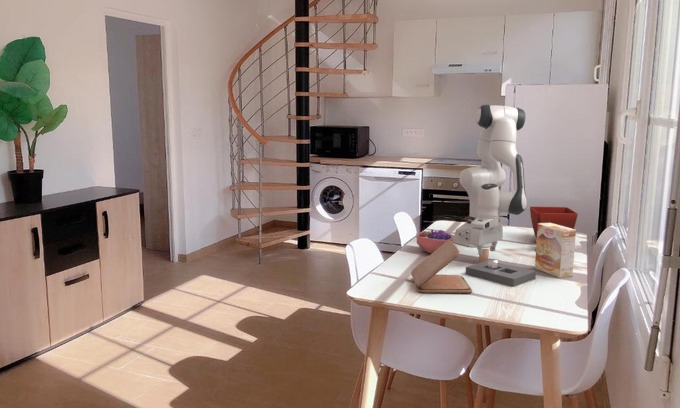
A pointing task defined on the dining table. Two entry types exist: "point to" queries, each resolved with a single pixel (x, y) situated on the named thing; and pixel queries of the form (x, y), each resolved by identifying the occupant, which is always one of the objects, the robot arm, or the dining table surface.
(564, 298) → the dining table surface
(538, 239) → the coffeecake box
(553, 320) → the dining table surface
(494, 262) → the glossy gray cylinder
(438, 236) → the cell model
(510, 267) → the housing
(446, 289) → the case
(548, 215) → the plant pot
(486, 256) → the tan oval egg shape
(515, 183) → the robot arm
